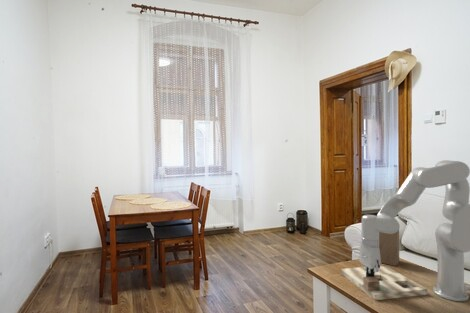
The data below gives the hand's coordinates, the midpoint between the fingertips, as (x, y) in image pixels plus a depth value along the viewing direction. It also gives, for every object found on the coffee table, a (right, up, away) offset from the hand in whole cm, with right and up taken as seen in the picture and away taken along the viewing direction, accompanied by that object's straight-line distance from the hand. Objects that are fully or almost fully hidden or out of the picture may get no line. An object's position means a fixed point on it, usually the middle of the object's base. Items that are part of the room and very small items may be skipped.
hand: (370, 280), depth 136 cm
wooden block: (+26, -3, +33) cm, 42 cm away
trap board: (+7, -4, +5) cm, 10 cm away
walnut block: (-2, -1, -5) cm, 5 cm away
